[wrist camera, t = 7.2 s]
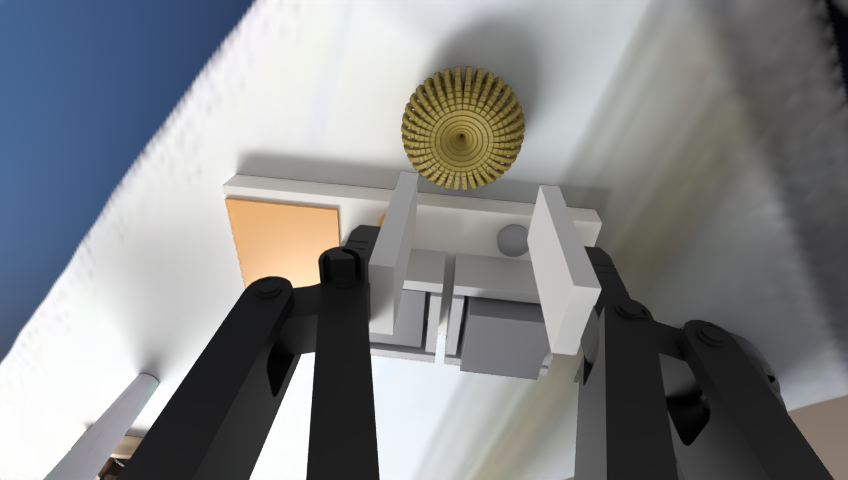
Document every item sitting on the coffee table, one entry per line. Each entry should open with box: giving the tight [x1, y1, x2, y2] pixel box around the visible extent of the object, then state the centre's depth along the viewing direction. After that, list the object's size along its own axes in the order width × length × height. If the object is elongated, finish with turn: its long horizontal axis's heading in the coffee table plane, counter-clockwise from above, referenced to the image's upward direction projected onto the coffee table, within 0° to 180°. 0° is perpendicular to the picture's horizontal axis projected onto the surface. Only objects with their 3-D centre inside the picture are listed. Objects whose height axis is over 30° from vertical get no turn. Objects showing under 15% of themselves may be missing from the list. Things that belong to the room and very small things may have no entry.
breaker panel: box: [223, 174, 602, 376], centre depth 33 cm, size 28×13×6 cm, turn 87°
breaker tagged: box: [369, 289, 427, 347], centre depth 33 cm, size 6×6×4 cm
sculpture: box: [401, 66, 525, 190], centre depth 27 cm, size 8×4×8 cm
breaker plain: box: [460, 296, 549, 380], centre depth 31 cm, size 6×6×4 cm
